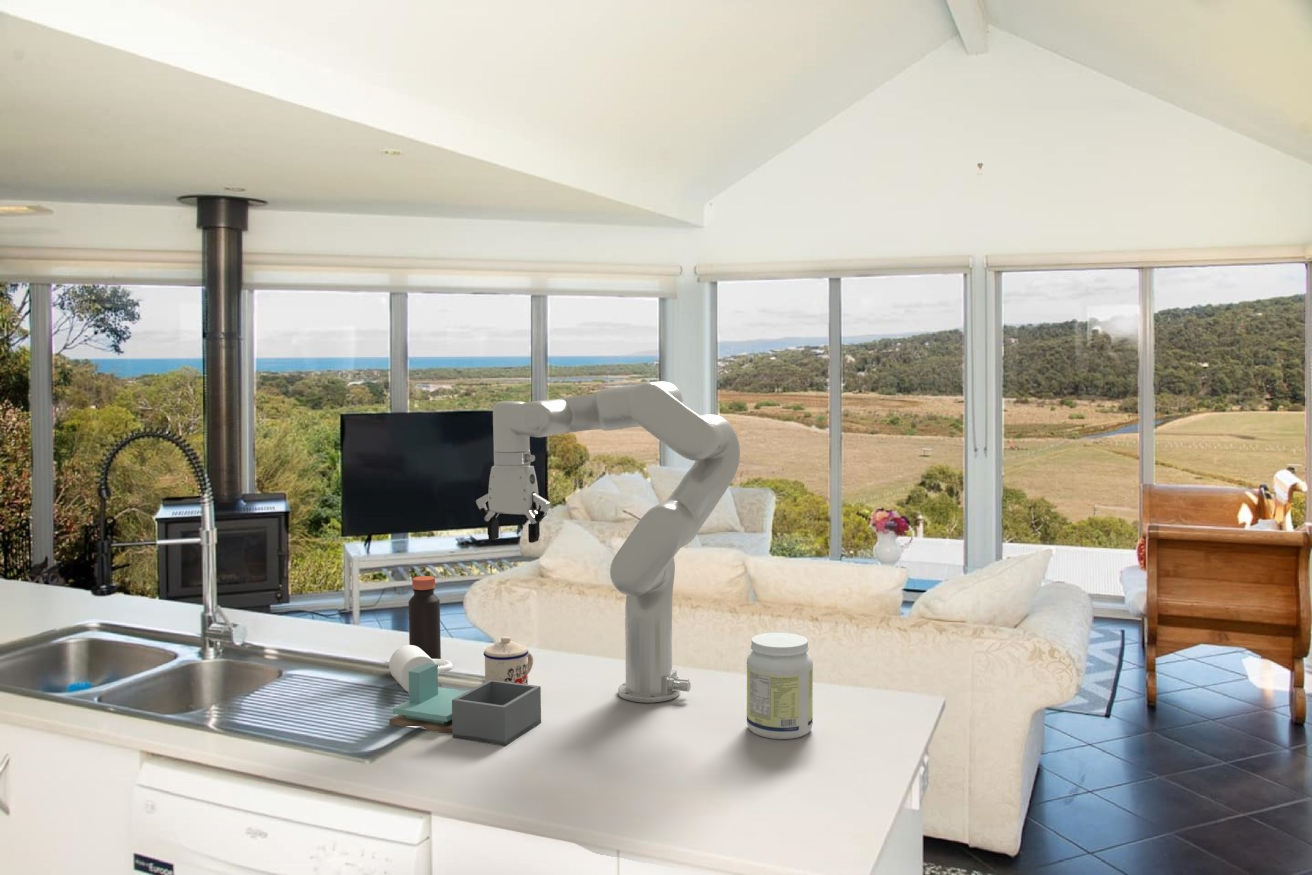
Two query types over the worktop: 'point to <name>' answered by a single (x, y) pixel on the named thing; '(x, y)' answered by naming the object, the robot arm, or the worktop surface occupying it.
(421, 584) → the bottle
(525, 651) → the teacup with lid
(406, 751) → the worktop surface
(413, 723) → the board
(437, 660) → the mug
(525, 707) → the tub
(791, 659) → the supplement tub
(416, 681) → the lid
